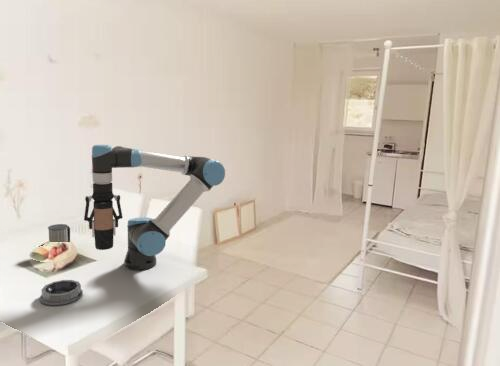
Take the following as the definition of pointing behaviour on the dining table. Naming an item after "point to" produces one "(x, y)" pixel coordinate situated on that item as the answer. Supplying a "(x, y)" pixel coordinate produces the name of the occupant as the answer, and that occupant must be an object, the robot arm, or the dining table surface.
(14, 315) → the dining table surface
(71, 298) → the collar
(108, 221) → the travel mug
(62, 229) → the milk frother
